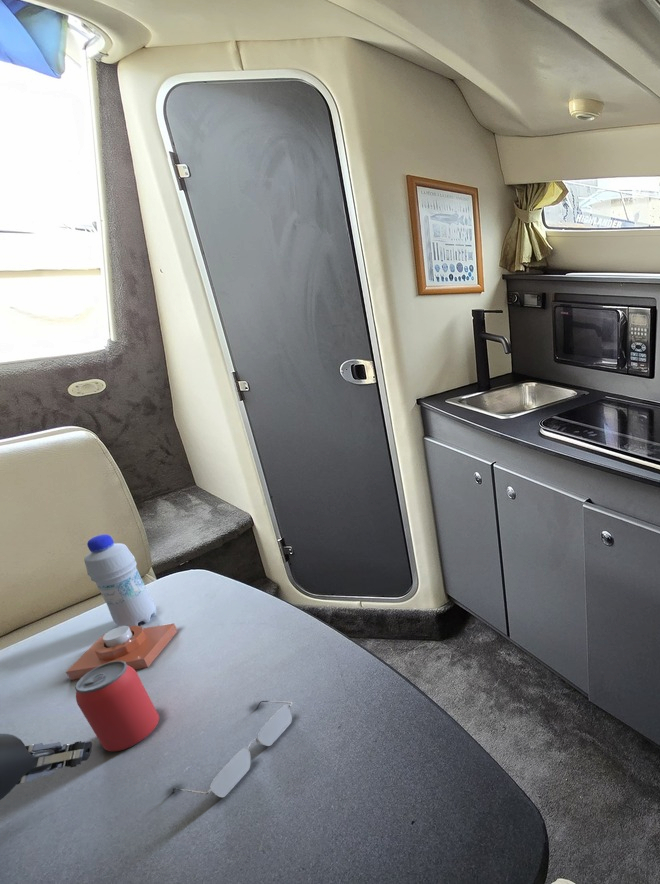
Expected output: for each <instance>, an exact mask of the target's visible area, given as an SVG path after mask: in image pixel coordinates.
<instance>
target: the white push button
mask: <svg viewBox="0 0 660 884" xmlns="http://www.w3.org/2000/svg"><path fill="white" fill-rule="evenodd" d="M104 634H105V635H104V636H103V640H104V642H105V644H106V646H107V647H115V646H117V645H120V644H122V643H124V642H126V641H127V640H129V639H130V638H131V637H132V636H133V634H132V632H131V630H130V628H129V626H120V627H118V626H117V627H115V628H113V629H110V630H109V631H107V632H106V633H104Z"/></svg>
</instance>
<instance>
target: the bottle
mask: <svg viewBox="0 0 660 884" xmlns="http://www.w3.org/2000/svg"><path fill="white" fill-rule="evenodd" d="M86 545H87V548H88V550H89V551H90V552H88V553H87V554H86V555H85V556H84V557H83V562H84V565H85V568H86V572H87V576H88V577H90V580H91V581H92V582H94V583H95V585H96V586H97V588H98V590H99V592H100V594H101V596H102V598H103V600H104V602H105V604H106V606H107V608H108V611H109V614H110V616H111V619H112V620H113V623H114V624H115V625H116V626H117V627H120V626H135V625H137V626H139V624H140V623H141V622H143V623H144V624H147V623H149V622H150V621H151V618H153V617H155V616H156V614H157V606H156V603H155V601H154V599H153V597H152V596H151V594H150V592H149V590H148V589H147V588H146V585H145V583H144V580H143V579H142V576H141V574H140V573H139V570H138V568H137V564H138V563H137V561H136V558H135V556H134V554H133V553H132V552H131V550H130V549H129V548H128V546H127V545H126V544H124V543H119V542H116V543H115V542H114V539H113V538H112V536H111V535H110V534H99V535H96V536H93V537H91V538H90V539H89V540H88V541H87V543H86Z"/></svg>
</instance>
